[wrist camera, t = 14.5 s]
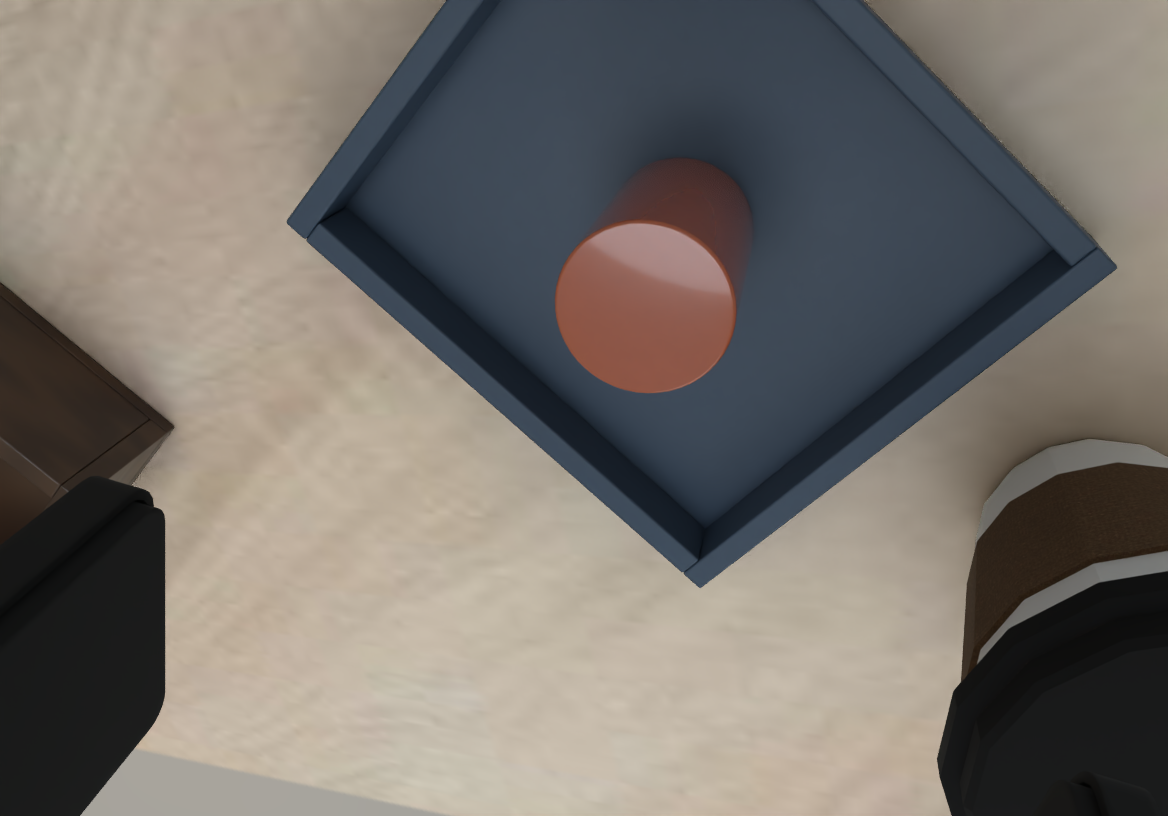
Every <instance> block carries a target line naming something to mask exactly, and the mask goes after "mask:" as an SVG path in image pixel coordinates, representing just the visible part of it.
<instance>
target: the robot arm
mask: <svg viewBox="0 0 1168 816" xmlns="http://www.w3.org/2000/svg"><path fill="white" fill-rule="evenodd" d="M164 697H165V517H164V513H163V511H162V510H160V509H158V508H155V507H154V504H153V498H152V496H151V494H150V493H149V492H148V491H146V490H144V489H141V488H137V487H134V486H131V485H127V484H124V483H121V482H117V481H114V480H110V479H107V478H104V477H100V476H90V477H88V478H87V479H85V480H83V481H82V482H80V483H79V484H78V485H76V486H75V487H74V488H73V489H71V490H70V491H69V492H67V493H66V494H65V495H64V496H62V497H61V498H60V499H59V500H57V501H56V502H55V503H53V504H52V505H51V506H50V507H48V508H47V509H46V510H44V511H43V512H42V513H41V514H39V515H38V516H37V517H36V518H34V519H33V520H32V521H30V522H29V523H28V524H27V525H25V526H24V527H23V528H21V529H20V530H19V531H18V532H16V533H15V534H14V535H13V536H11V537H10V538H9V539H7V540H6V541H5V542H4V543H2V544H1V545H0V816H80V815H81V814H82V812H83V811H84V810H85V809H86V807H87V806H88V805H89V804H90V803H91V801H92V800H93V799H94V798H95V796H96V795H97V794H98V793H99V791H100V790H101V789H102V788H103V787H104V785H105V784H106V783H107V781H108V780H109V779H110V778H111V777H112V775H113V774H114V773H115V772H116V770H117V769H118V768H119V766H120V765H121V764H122V763H123V762H124V761H125V759H126V758H127V757H128V756H129V754H130V753H131V752H132V751H133V749H134V748H135V747H136V746H137V744H138V743H139V742H140V741H141V739H142V738H143V737H144V736H145V735H146V733H147V732H148V731H149V730H150V728H151V727H152V725H153V724H154V722H155V721H156V719H157V717H158V715H159V713H160V710H161V708H162V705H163V701H164ZM1033 816H1161V813H1160V811H1159V808H1158V806H1157V803H1156V801H1155V799H1154V798H1153V796H1152V794H1151V793H1150V792H1149V791H1147V790H1146V789H1145V788H1142V787H1139V786H1135V785H1132V784H1129V783H1125V782H1122V781H1119V780H1115V779H1112V778H1109V777H1105V776H1102V775H1099V774H1095V773H1092V772H1087V771H1082V772H1080V773H1078V774H1076V775H1075V776H1074V777H1073V779H1072V780H1071V781H1070V782H1069V781H1065V780H1058V781H1056V782H1054V783H1053V785H1052V786H1051V787H1050V789H1049V790H1048V792H1047V793H1046V795H1045V797H1044V798H1043V800H1042V802H1041V803H1040V805H1039V806H1038V808H1037V810H1036V811H1035V813H1034V814H1033Z"/></svg>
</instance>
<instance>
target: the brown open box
mask: <svg viewBox="0 0 1168 816" xmlns="http://www.w3.org/2000/svg"><path fill="white" fill-rule="evenodd" d="M173 429H174V426H173V425H171V424H170V423H169V422H168V421H167V420H165V419H164V418H163V417H162V416H160V415H159V414H158V413H157V412H156V411H154V410H153V409H152V408H151V407H150V406H148V405H147V404H146V403H145V402H144V401H142V400H141V399H140V398H139V397H137V396H136V395H135V394H134V393H133V392H131V391H130V390H129V389H128V388H127V387H125V386H124V385H123V384H122V383H121V382H119V381H118V380H117V379H116V378H114V377H113V376H112V375H111V374H110V373H108V372H107V371H106V370H105V369H104V368H102V367H101V366H100V365H99V364H98V363H96V362H95V361H94V360H93V359H92V358H90V357H89V356H88V355H87V354H85V353H84V352H83V351H82V350H81V349H79V348H78V347H77V346H76V345H75V344H73V343H72V342H71V341H70V340H69V339H67V338H66V337H65V336H64V335H62V334H61V333H60V332H59V331H58V330H56V329H55V328H54V327H53V326H52V325H50V324H49V323H48V322H47V321H46V320H44V319H43V318H42V317H41V316H39V315H38V314H37V313H36V312H35V311H33V310H32V309H31V308H30V307H29V306H27V305H26V304H25V303H24V302H23V301H21V300H20V299H19V298H18V297H16V296H15V295H14V294H13V293H12V292H10V291H9V290H8V289H7V288H6V287H4V286H3V285H2V284H1V283H0V545H1V544H2V543H4V542H5V541H6V540H7V539H9V538H10V537H11V536H13V535H14V534H15V533H16V532H18V531H19V530H20V529H21V528H23V527H24V526H25V525H27V524H28V523H29V522H30V521H32V520H33V519H34V518H36V517H37V516H38V515H39V514H41V513H42V512H43V511H44V510H46V509H47V508H48V507H50V506H51V505H52V504H53V503H55V502H56V501H57V500H59V499H60V498H61V497H62V496H64V495H65V494H66V493H67V492H69V491H70V490H71V489H73V488H74V487H75V486H76V485H78V484H79V483H80V482H82V481H83V480H85V479H87V478H88V477H90V476H100V477H104V478H107V479H110V480H114V481H117V482H121V483H124V484H127V485H132V483H133V482H134V481H135V479H136V478H137V477H138V475H139V474H140V473H141V471H142V470H143V469H144V467H145V466H146V465H147V463H148V462H149V461H150V459H151V458H152V457H153V455H154V454H155V453H156V451H157V450H158V449H159V447H160V446H161V445H162V443H163V442H164V441H165V439H166V438H167V437H168V435H169V434H170V433H171V431H172V430H173Z"/></svg>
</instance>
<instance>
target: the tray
mask: <svg viewBox="0 0 1168 816" xmlns="http://www.w3.org/2000/svg"><path fill="white" fill-rule="evenodd" d="M677 157H680V158H691V159H697V160H700V161H704V162H707V163H709V164H711V165H713V166H715V167H717V168H719V169H720V170H722V171H723V172H725V173H726V174H727V175H728V176H729V177H731V178H732V179H733V180H734V181H735V183H736V184H737V185H738V186H739V187H740V189H741V190H742V192H743V193H744V195H745V197H746V199H747V201H748V203H749V206H750V209H751V211H752V216H753V221H754V240H753V245H752V250H751V254H750V259H749V264H748V268H747V273H746V278H745V282H744V287H743V292H742V296H741V301H740V306H739V310H738V315H737V320H736V324H735V329H734V333H733V336H732V339H731V342H730V344H729V346H728V348H727V350H726V352H725V354H724V355H723V356H722V358H721V359H720V360H719V362H718V363H717V364H716V365H715V366H714V367H713V368H712V369H711V370H710V371H709V372H708V373H707V374H705V375H704V376H703V377H702V378H700V379H698V380H697V381H695V382H693V383H692V384H689V385H687V386H685V387H682V388H679V389H676V390H672V391H668V392H661V393H638V392H632V391H627V390H623V389H620V388H617V387H614V386H612V385H610V384H608V383H606V382H604V381H602V380H600V379H599V378H597V377H596V376H594V375H593V374H591V373H590V372H589V371H588V370H586V369H585V368H584V367H583V366H582V365H581V364H580V363H579V362H578V361H577V360H576V358H575V357H574V356H573V354H572V353H571V352H570V350H569V348H568V347H567V345H566V343H565V342H564V340H563V337H562V335H561V333H560V330H559V327H558V323H557V320H556V313H555V290H556V284H557V281H558V277H559V274H560V272H561V269H562V267H563V265H564V263H565V261H566V260H567V258H568V256H569V255H570V253H571V252H572V251H573V250H574V248H575V247H576V246H577V244H578V243H579V242H580V240H581V239H582V238H583V236H584V235H585V234H586V232H587V231H588V230H589V228H590V227H591V226H592V224H593V223H594V222H595V220H596V219H597V218H598V217H599V215H600V214H601V213H602V211H603V210H604V209H605V207H606V206H607V205H608V203H609V202H610V201H611V199H612V198H613V197H614V195H615V194H616V193H617V191H618V190H619V189H620V188H621V186H622V185H623V184H624V183H625V181H626V180H627V179H628V178H629V177H630V176H631V175H632V174H634V173H635V172H636V171H638V170H639V169H641V168H642V167H644V166H646V165H648V164H650V163H653V162H656V161H658V160H663V159H667V158H677ZM287 224H288V225H289V226H290V227H291V228H293V229H294V230H295V231H296V232H297V233H298V234H299V235H301V236H302V237H303V238H305V239H306V238H307V242H308V243H309V244H310V245H311V246H313V247H314V248H315V249H316V250H317V251H318V252H319V253H321V254H322V255H323V256H324V257H325V258H326V259H327V260H328V261H330V262H331V263H332V264H333V265H334V266H335V267H336V268H338V269H339V270H340V271H341V272H342V273H343V274H344V275H345V276H347V277H348V278H349V279H350V280H351V281H352V282H353V283H355V284H356V285H357V286H358V287H359V288H360V289H361V290H362V291H364V292H365V293H366V294H367V295H368V296H369V297H370V298H372V299H373V300H374V301H375V302H376V303H377V304H378V305H379V306H381V307H382V308H383V309H384V310H385V311H386V312H387V313H389V314H390V315H391V316H392V317H393V318H394V319H395V320H396V321H398V322H399V323H400V324H401V325H402V326H403V327H404V328H406V329H407V330H408V331H409V332H410V333H411V334H412V335H413V336H415V337H416V338H417V339H418V340H419V341H420V342H421V343H423V344H424V345H425V346H426V347H427V348H428V349H429V350H430V351H432V352H433V353H434V354H435V355H436V356H437V357H438V358H440V359H441V360H442V361H443V362H444V363H445V364H446V365H447V366H449V367H450V368H451V369H452V370H453V371H454V372H455V373H457V374H458V375H459V376H460V377H461V378H462V379H463V380H464V381H466V382H467V383H468V384H469V385H470V386H471V387H472V388H474V389H475V390H476V391H477V392H478V393H479V394H480V395H481V396H483V397H484V398H485V399H486V400H487V401H488V402H489V403H491V404H492V405H493V406H494V407H495V408H496V409H497V410H498V411H500V412H501V413H502V414H503V415H504V416H505V417H506V418H508V419H509V420H510V421H511V422H512V423H513V424H514V425H515V426H517V427H518V428H519V429H520V430H521V431H522V432H523V433H525V434H526V435H527V436H528V437H529V438H530V439H531V440H532V441H534V442H535V443H536V444H537V445H538V446H539V447H540V448H542V449H543V450H544V451H545V452H546V453H547V454H548V455H550V456H551V457H552V458H553V459H554V460H555V461H556V462H557V463H559V464H560V465H561V466H562V467H563V468H564V469H565V470H567V471H568V472H569V473H570V474H571V475H572V476H573V477H574V478H576V479H577V480H578V481H579V482H580V483H581V484H582V485H584V486H585V487H586V488H587V489H588V490H589V491H590V492H591V493H593V494H594V495H595V496H596V497H597V498H598V499H599V500H601V501H602V502H603V503H604V504H605V505H606V506H607V507H608V508H610V509H611V510H612V511H613V512H614V513H615V514H616V515H618V516H619V517H620V518H621V519H622V520H623V521H624V522H625V523H627V524H628V525H629V526H630V527H631V528H632V529H633V530H635V531H636V532H637V533H638V534H639V535H640V536H641V537H642V538H644V539H645V540H646V541H647V542H648V543H649V544H650V545H652V546H653V547H654V548H655V549H656V550H657V551H658V552H659V553H661V554H662V555H663V556H664V557H665V558H666V559H667V560H669V561H670V562H671V563H672V564H673V565H674V566H675V567H676V568H678V569H679V570H680V571H681V572H684V574H685V576H687V577H688V578H689V579H690V580H691V581H692V582H693V583H695V584H696V585H697V586H698V587H699V588H701V587H703V586H704V585H705V584H707V583H708V582H709V581H710V580H712V579H713V578H714V577H716V576H717V575H718V574H720V573H721V572H722V571H723V570H725V569H726V568H727V567H729V566H730V565H731V564H733V563H734V562H735V561H737V560H738V559H739V558H740V557H742V556H743V555H744V554H746V553H747V552H748V551H750V550H751V549H752V548H753V547H755V546H756V545H757V544H759V543H760V542H761V541H763V540H764V539H765V538H766V537H768V536H769V535H770V534H772V533H773V532H774V531H776V530H777V529H778V528H780V527H781V526H782V525H783V524H785V523H786V522H787V521H789V520H790V519H791V518H793V517H794V516H795V515H796V514H798V513H799V512H800V511H802V510H803V509H804V508H806V507H807V506H808V505H809V504H811V503H812V502H813V501H815V500H816V499H817V498H819V497H820V496H821V495H823V494H824V493H825V492H826V491H828V490H829V489H830V488H832V487H833V486H834V485H836V484H837V483H838V482H839V481H841V480H842V479H843V478H845V477H846V476H847V475H849V474H850V473H851V472H852V471H854V470H855V469H856V468H858V467H859V466H860V465H862V464H863V463H864V462H866V461H867V460H868V459H869V458H871V457H872V456H873V455H875V454H876V453H877V452H879V451H880V450H881V449H882V448H884V447H885V446H886V445H888V444H889V443H890V442H892V441H893V440H894V439H896V438H897V437H898V436H899V435H901V434H902V433H903V432H905V431H906V430H907V429H909V428H910V427H911V426H912V425H914V424H915V423H916V422H918V421H919V420H920V419H922V418H923V417H924V416H925V415H927V414H928V413H929V412H931V411H932V410H933V409H935V408H936V407H937V406H939V405H940V404H941V403H942V402H944V401H945V400H946V399H948V398H949V397H950V396H952V395H953V394H954V393H955V392H957V391H958V390H959V389H961V388H962V387H963V386H965V385H966V384H967V383H968V382H970V381H971V380H972V379H974V378H975V377H976V376H978V375H979V374H980V373H982V372H983V371H984V370H985V369H987V368H988V367H989V366H991V365H992V364H993V363H995V362H996V361H997V360H998V359H1000V358H1001V357H1002V356H1004V355H1005V354H1006V353H1008V352H1009V351H1010V350H1012V349H1013V348H1014V347H1015V346H1017V345H1018V344H1019V343H1021V342H1022V341H1023V340H1025V339H1026V338H1027V337H1028V336H1030V335H1031V334H1032V333H1034V332H1035V331H1036V330H1038V329H1039V328H1040V327H1041V326H1043V325H1044V324H1045V323H1047V322H1048V321H1049V320H1051V319H1052V318H1053V317H1055V316H1056V315H1057V314H1058V313H1060V312H1061V311H1062V310H1064V309H1065V308H1066V307H1068V306H1069V305H1070V304H1071V303H1073V302H1074V301H1075V300H1077V299H1078V298H1079V297H1081V296H1082V295H1083V294H1084V293H1086V292H1087V291H1088V290H1090V289H1091V288H1092V287H1094V286H1095V285H1096V284H1098V283H1099V282H1100V281H1101V280H1103V279H1104V278H1105V277H1107V276H1108V275H1109V274H1111V273H1112V272H1113V271H1114V270H1116V269H1117V266H1116V264H1115V263H1114V262H1113V261H1112V260H1111V259H1110V257H1109V256H1108V255H1107V254H1106V253H1105V252H1104V250H1103V249H1102V248H1101V247H1100V246H1099V245H1098V243H1097V242H1096V241H1095V240H1094V239H1093V238H1092V237H1091V236H1090V235H1089V234H1088V233H1087V232H1086V231H1085V230H1084V229H1083V227H1082V226H1081V225H1080V224H1079V223H1078V222H1077V221H1076V220H1075V219H1074V218H1073V217H1072V216H1071V215H1070V214H1069V213H1068V212H1067V211H1066V210H1065V209H1064V208H1063V207H1062V206H1061V205H1060V204H1059V203H1058V202H1057V201H1056V199H1055V198H1054V197H1053V196H1052V195H1051V194H1050V193H1049V192H1048V191H1047V190H1046V189H1045V188H1044V187H1043V186H1042V185H1041V184H1040V183H1039V182H1038V181H1037V180H1036V179H1035V178H1034V177H1033V176H1032V175H1031V174H1030V173H1029V171H1028V170H1027V169H1026V168H1025V167H1024V166H1023V165H1022V164H1021V163H1020V162H1019V161H1018V160H1017V159H1016V158H1015V157H1014V156H1013V155H1012V154H1011V153H1010V152H1009V151H1008V150H1007V149H1006V148H1005V147H1004V146H1003V145H1002V143H1001V142H1000V141H999V140H998V139H997V138H996V137H995V136H994V135H993V134H992V133H991V132H990V131H989V130H988V129H987V128H986V127H985V126H984V125H983V124H982V123H981V122H980V121H979V120H978V119H977V118H976V117H975V115H974V114H973V113H972V112H971V111H970V110H969V109H968V108H967V107H966V106H965V105H964V104H963V103H962V102H961V101H960V100H959V99H958V98H957V97H956V96H955V95H954V94H953V93H952V92H951V91H950V90H949V89H948V88H947V86H946V85H945V84H944V83H943V82H942V81H941V80H940V79H939V78H938V77H937V76H936V75H935V74H934V73H933V72H932V71H931V70H930V69H929V68H928V67H927V66H926V65H925V64H924V63H923V62H922V61H921V60H920V58H919V57H918V56H917V55H916V54H915V53H914V52H913V51H912V50H911V49H910V48H909V47H908V46H907V45H906V44H905V43H904V42H903V41H902V40H901V39H900V38H899V37H898V36H897V35H896V34H895V33H894V32H893V30H892V29H891V28H890V27H889V26H888V25H887V24H886V23H885V22H884V21H883V20H882V19H881V18H880V17H879V16H878V15H877V14H876V13H875V12H874V11H873V10H872V9H871V8H870V7H869V6H868V5H867V4H866V2H865V1H864V0H446V2H445V3H444V4H443V6H442V7H441V8H440V10H439V11H438V13H437V14H436V15H435V17H434V18H433V19H432V21H431V22H430V24H429V25H428V26H427V28H426V29H425V30H424V32H423V33H422V35H421V36H420V37H419V39H418V40H417V42H416V43H415V44H414V46H413V47H412V48H411V50H410V51H409V53H408V54H407V55H406V57H405V58H404V59H403V61H402V62H401V64H400V65H399V66H398V68H397V69H396V71H395V72H394V73H393V75H392V76H391V77H390V79H389V80H388V82H387V83H386V84H385V86H384V87H383V88H382V90H381V91H380V93H379V94H378V95H377V97H376V98H375V99H374V101H373V102H372V104H371V105H370V106H369V108H368V109H367V111H366V112H365V113H364V115H363V116H362V117H361V119H360V120H359V122H358V123H357V124H356V126H355V127H354V128H353V130H352V131H351V133H350V134H349V135H348V137H347V138H346V139H345V141H344V142H343V144H342V145H341V146H340V148H339V149H338V151H337V152H336V153H335V155H334V156H333V157H332V159H331V160H330V162H329V163H328V164H327V166H326V167H325V168H324V170H323V171H322V173H321V174H320V175H319V177H318V178H317V180H316V181H315V182H314V184H313V185H312V186H311V188H310V189H309V191H308V192H307V193H306V195H305V196H304V197H303V199H302V200H301V202H300V203H299V204H298V206H297V207H296V208H295V210H294V211H293V213H292V214H291V215H290V217H289V218H288V220H287Z"/></svg>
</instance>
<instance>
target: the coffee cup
mask: <svg viewBox="0 0 1168 816" xmlns="http://www.w3.org/2000/svg"><path fill="white" fill-rule="evenodd" d="M937 762H938V769H939V775H940V779H941V783H942V786H943V789H944V792H945V796H946V799H947V802H948V805H949V808H950V812H951V815H952V816H1033V814H1034V813H1035V811H1036V810H1037V808H1038V806H1039V805H1040V803H1041V802H1042V800H1043V798H1044V797H1045V795H1046V793H1047V792H1048V790H1049V789H1050V787H1051V786H1052V785H1053V783H1054V782H1056V781H1058V780H1065V781H1069V782H1070V781H1071V780H1072V779H1073V777H1074V776H1075V775H1076V774H1078V773H1080V772H1082V771H1087V772H1092V773H1095V774H1099V775H1102V776H1105V777H1109V778H1112V779H1115V780H1119V781H1122V782H1125V783H1129V784H1132V785H1135V786H1139V787H1142V788H1145V789H1146V790H1147V791H1149V792H1150V793H1151V794H1152V796H1153V798H1154V799H1155V801H1156V803H1157V806H1158V808H1159V811H1160V813H1161V816H1168V457H1167V456H1165V455H1163V454H1161V453H1159V452H1157V451H1155V450H1153V449H1151V448H1149V447H1147V446H1145V445H1139V444H1131V443H1122V442H1113V441H1104V440H1095V439H1086V440H1081V441H1076V442H1071V443H1067V444H1062V445H1057V446H1052V447H1048V448H1046V449H1045V450H1043V451H1041V452H1039V453H1038V454H1036V455H1034V456H1033V457H1031V458H1029V459H1028V460H1026V461H1024V462H1022V463H1021V464H1019V465H1017V466H1016V467H1014V468H1013V469H1012V470H1011V471H1010V472H1009V473H1008V475H1007V476H1006V477H1005V478H1004V480H1003V481H1002V482H1001V484H1000V485H999V486H998V487H997V489H996V490H995V491H994V492H993V494H992V495H991V496H990V497H989V499H988V500H987V501H986V502H985V504H984V506H983V511H982V515H981V519H980V523H979V528H978V532H977V536H976V543H975V552H974V556H973V561H972V565H971V569H970V573H969V578H968V582H967V592H966V609H965V625H964V642H963V659H962V675H961V683H960V684H959V685H958V686H957V688H956V689H955V690H954V691H953V695H952V699H951V704H950V708H949V712H948V716H947V720H946V724H945V728H944V732H943V736H942V741H941V745H940V749H939V753H938V757H937Z"/></svg>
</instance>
